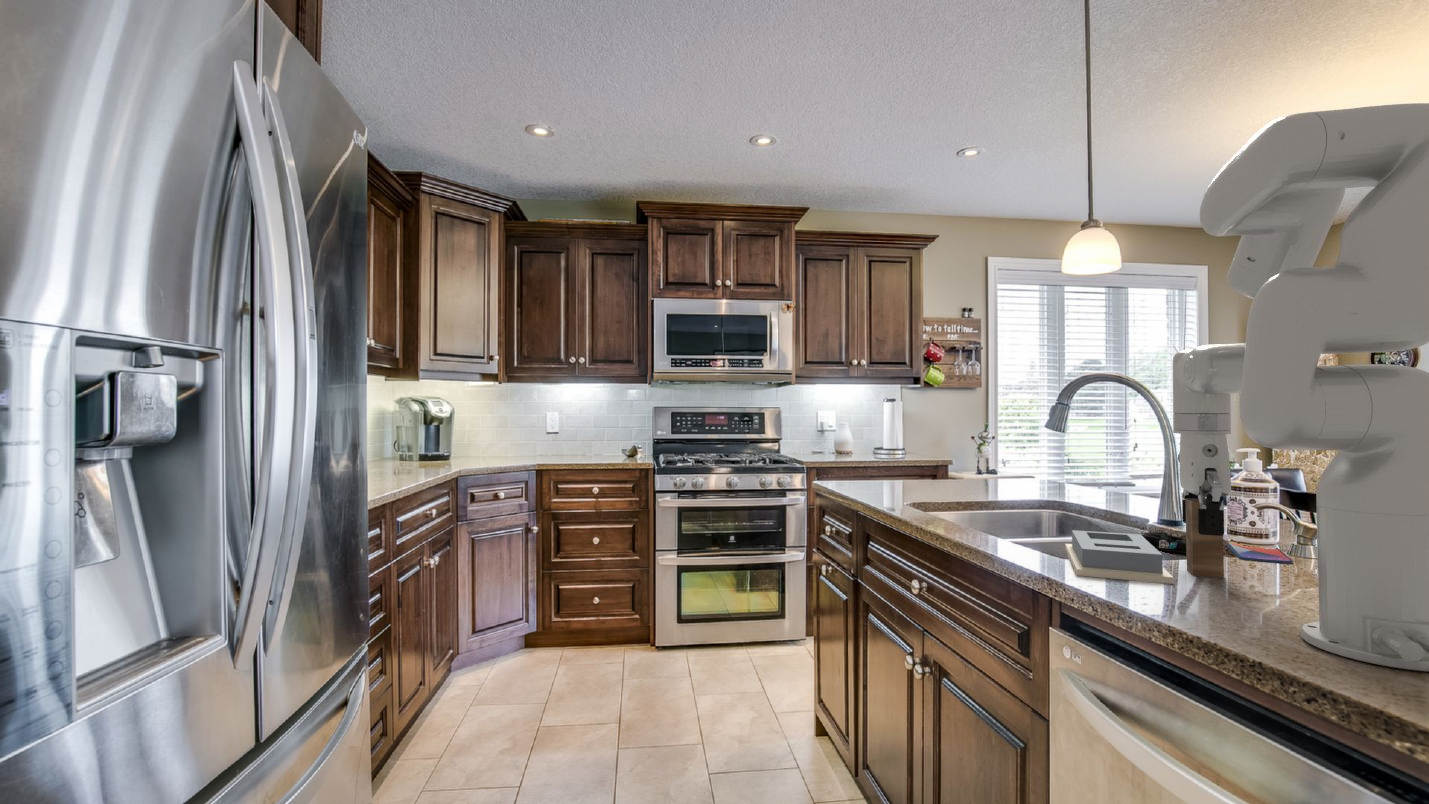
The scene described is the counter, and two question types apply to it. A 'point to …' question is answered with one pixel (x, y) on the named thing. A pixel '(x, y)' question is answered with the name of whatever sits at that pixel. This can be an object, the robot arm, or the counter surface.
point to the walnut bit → (1202, 546)
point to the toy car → (1166, 541)
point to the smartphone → (1258, 553)
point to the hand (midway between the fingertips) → (1202, 528)
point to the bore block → (1116, 557)
